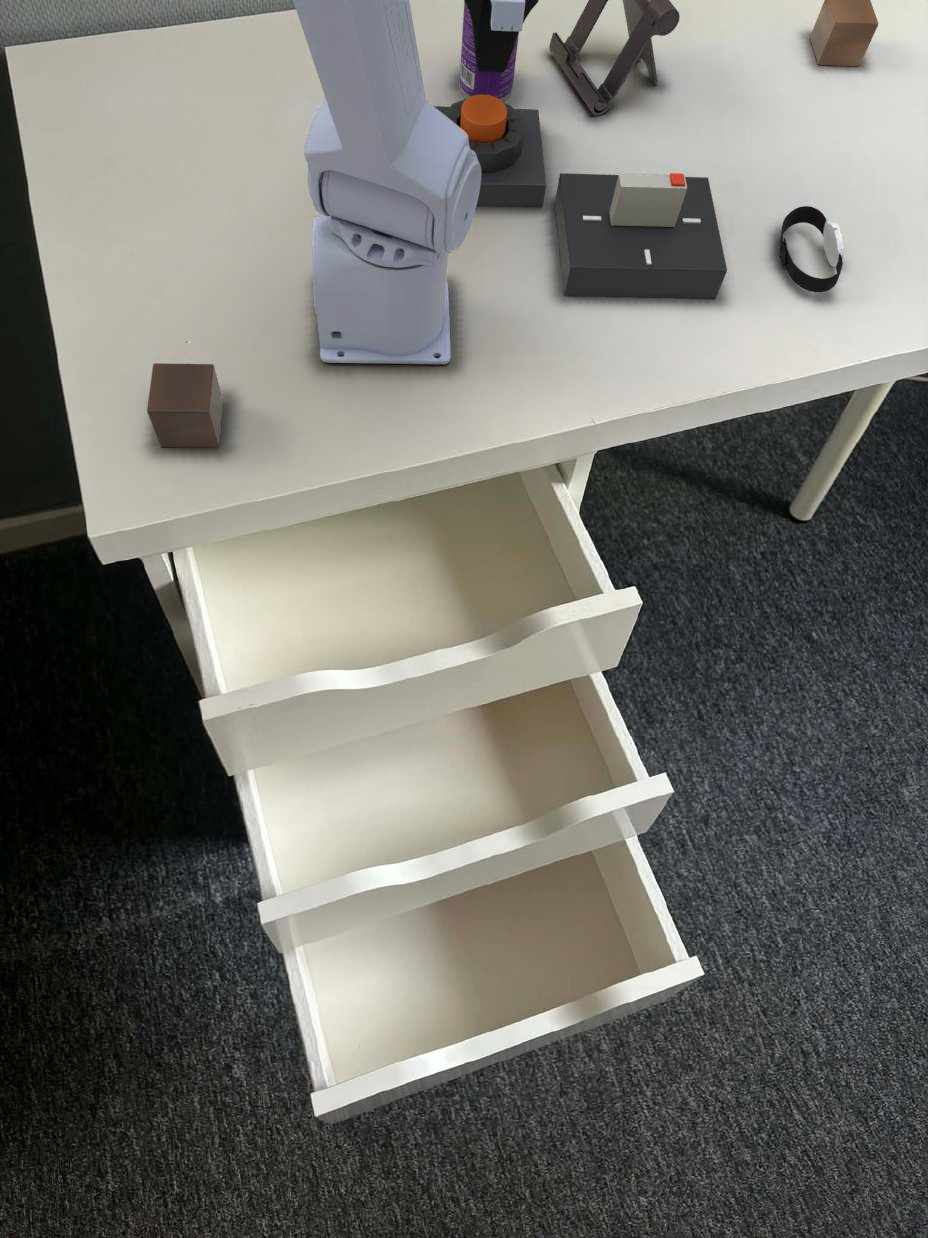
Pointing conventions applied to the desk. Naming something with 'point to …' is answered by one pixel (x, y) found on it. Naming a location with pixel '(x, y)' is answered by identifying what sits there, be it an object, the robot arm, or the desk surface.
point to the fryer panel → (636, 244)
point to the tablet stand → (644, 20)
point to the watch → (831, 245)
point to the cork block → (843, 32)
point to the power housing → (509, 160)
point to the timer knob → (647, 199)
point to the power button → (483, 118)
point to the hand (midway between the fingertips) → (491, 65)
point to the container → (482, 81)
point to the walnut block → (185, 405)
